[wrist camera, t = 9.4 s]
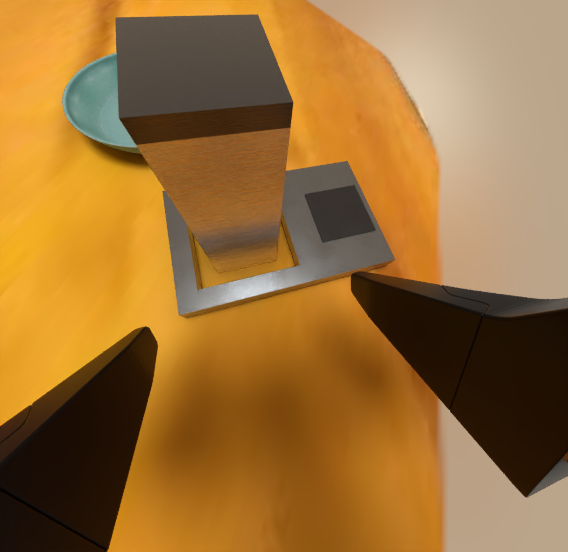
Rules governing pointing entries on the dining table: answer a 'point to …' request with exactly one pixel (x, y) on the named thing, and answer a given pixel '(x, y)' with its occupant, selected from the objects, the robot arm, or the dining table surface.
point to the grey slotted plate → (291, 241)
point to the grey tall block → (210, 126)
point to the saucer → (97, 104)
